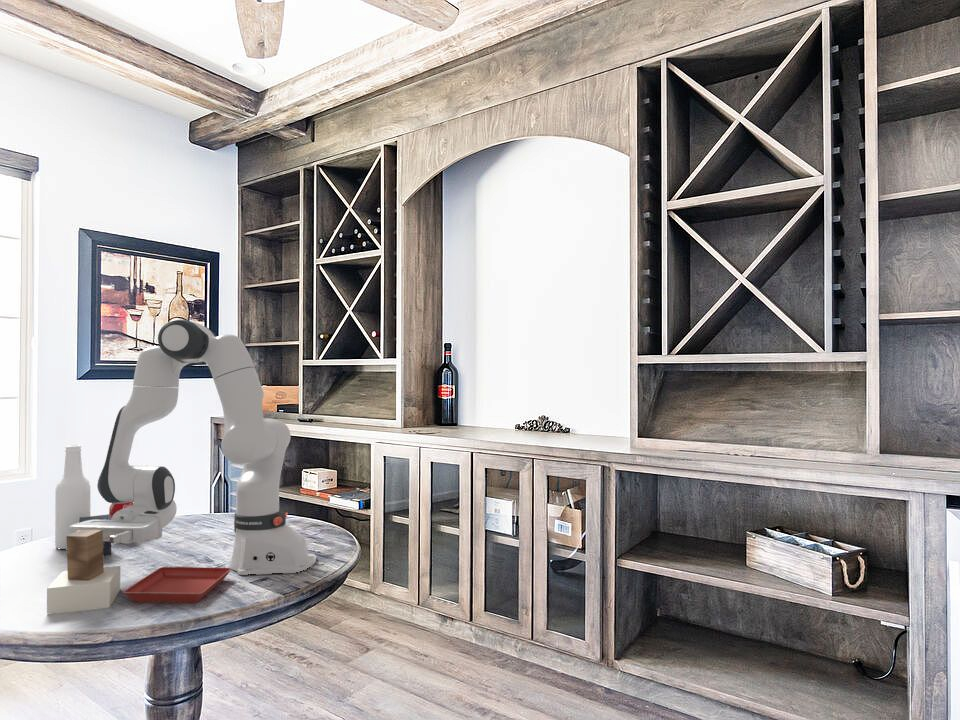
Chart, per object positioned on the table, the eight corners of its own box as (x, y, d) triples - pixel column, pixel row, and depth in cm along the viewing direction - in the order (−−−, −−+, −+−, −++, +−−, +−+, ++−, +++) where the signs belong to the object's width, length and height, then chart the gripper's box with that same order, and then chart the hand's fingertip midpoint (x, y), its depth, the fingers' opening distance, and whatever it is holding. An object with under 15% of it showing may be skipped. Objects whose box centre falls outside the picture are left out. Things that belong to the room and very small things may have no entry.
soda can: (110, 537, 198) (110, 499, 198) (135, 535, 201) (135, 497, 201) (107, 543, 192) (107, 504, 192) (134, 541, 195) (134, 501, 195)
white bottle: (60, 543, 192) (61, 444, 192) (93, 540, 195) (94, 443, 195) (50, 551, 184) (51, 448, 184) (85, 549, 186) (85, 446, 186)
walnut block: (103, 572, 148) (102, 529, 148) (88, 580, 143) (87, 536, 143) (83, 571, 148) (82, 529, 148) (67, 579, 143) (66, 536, 143)
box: (79, 559, 177) (79, 521, 177) (78, 554, 181) (79, 517, 181) (111, 554, 181) (111, 517, 181) (110, 549, 186) (110, 513, 186)
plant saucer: (232, 579, 161) (232, 566, 161) (201, 607, 143) (201, 592, 143) (161, 579, 161) (161, 566, 161) (121, 607, 143) (121, 592, 143)
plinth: (120, 590, 153) (120, 565, 153) (109, 608, 142) (109, 582, 142) (62, 596, 149) (62, 571, 149) (46, 615, 138) (46, 588, 138)
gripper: (91, 511, 162) (50, 525, 149) (167, 512, 161) (134, 527, 147) (91, 536, 162) (50, 552, 149) (167, 537, 161) (134, 554, 147)
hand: (93, 539), depth 148 cm, fingers open, 8 cm apart
